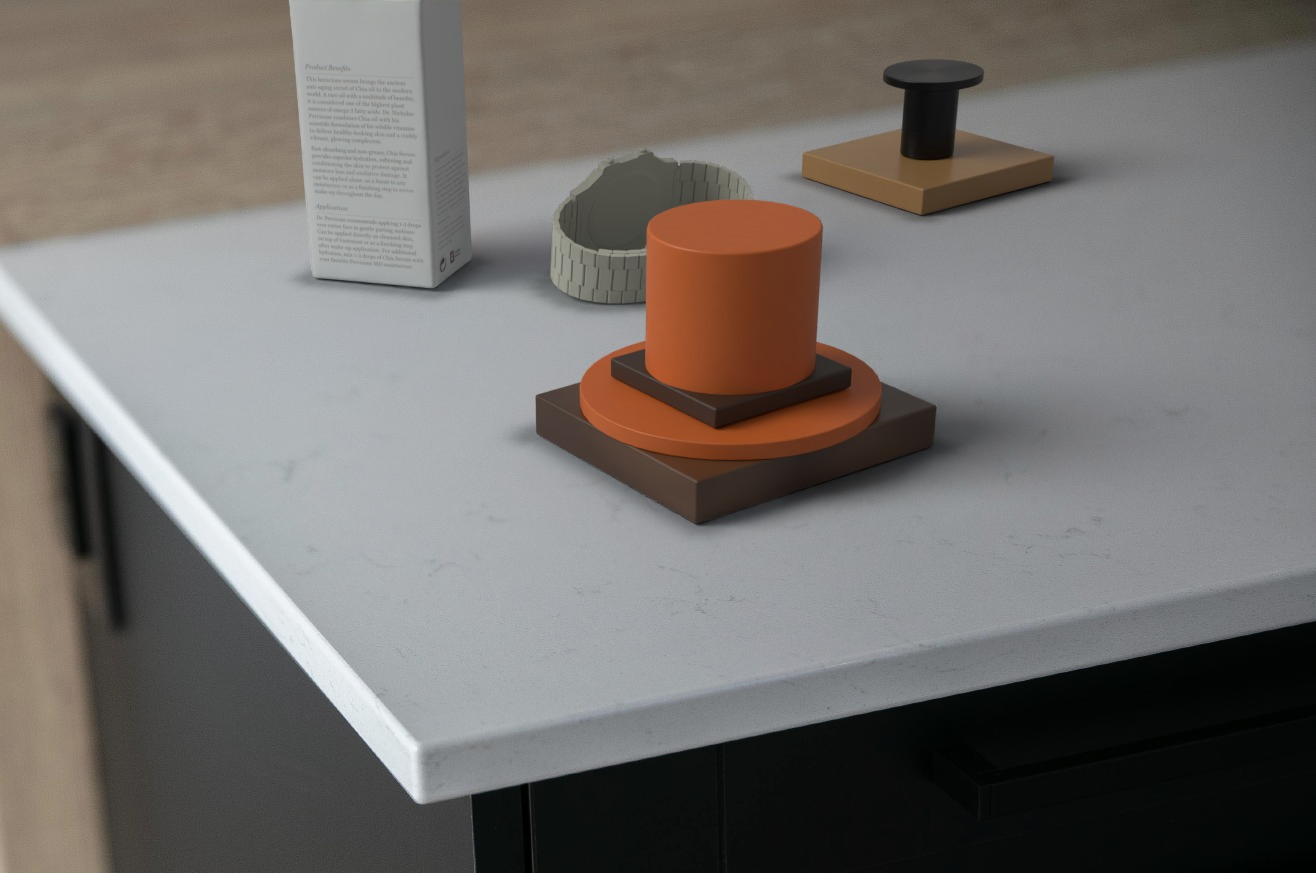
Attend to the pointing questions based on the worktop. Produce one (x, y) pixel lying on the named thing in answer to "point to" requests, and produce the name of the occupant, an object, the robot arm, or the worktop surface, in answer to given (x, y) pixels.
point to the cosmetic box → (383, 138)
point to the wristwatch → (626, 220)
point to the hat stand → (928, 149)
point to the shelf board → (736, 483)
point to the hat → (731, 343)
